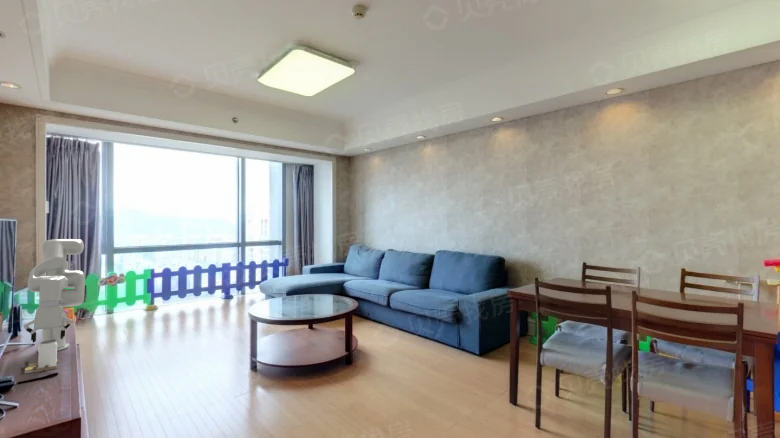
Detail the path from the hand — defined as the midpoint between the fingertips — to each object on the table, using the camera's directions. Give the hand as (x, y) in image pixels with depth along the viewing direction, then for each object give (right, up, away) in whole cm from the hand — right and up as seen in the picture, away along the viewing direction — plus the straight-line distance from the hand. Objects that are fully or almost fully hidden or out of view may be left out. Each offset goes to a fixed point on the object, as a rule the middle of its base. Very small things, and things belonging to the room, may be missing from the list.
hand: (48, 340), depth 173 cm
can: (-1, -13, 0) cm, 13 cm away
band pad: (-6, -13, -3) cm, 14 cm away
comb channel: (-3, -13, -1) cm, 13 cm away
